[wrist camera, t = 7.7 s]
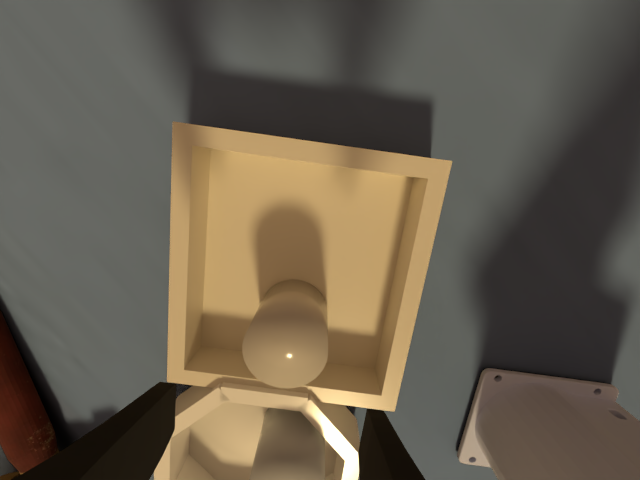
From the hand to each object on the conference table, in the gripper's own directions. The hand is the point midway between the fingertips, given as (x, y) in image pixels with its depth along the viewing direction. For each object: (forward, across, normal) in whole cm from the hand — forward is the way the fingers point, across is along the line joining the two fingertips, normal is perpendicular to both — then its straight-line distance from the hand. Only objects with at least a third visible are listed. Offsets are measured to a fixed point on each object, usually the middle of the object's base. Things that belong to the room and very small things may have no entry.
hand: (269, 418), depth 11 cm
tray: (+9, 0, -3) cm, 10 cm away
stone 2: (+9, -1, +9) cm, 12 cm away
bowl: (+9, +1, +10) cm, 14 cm away
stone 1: (+9, 0, 0) cm, 9 cm away
